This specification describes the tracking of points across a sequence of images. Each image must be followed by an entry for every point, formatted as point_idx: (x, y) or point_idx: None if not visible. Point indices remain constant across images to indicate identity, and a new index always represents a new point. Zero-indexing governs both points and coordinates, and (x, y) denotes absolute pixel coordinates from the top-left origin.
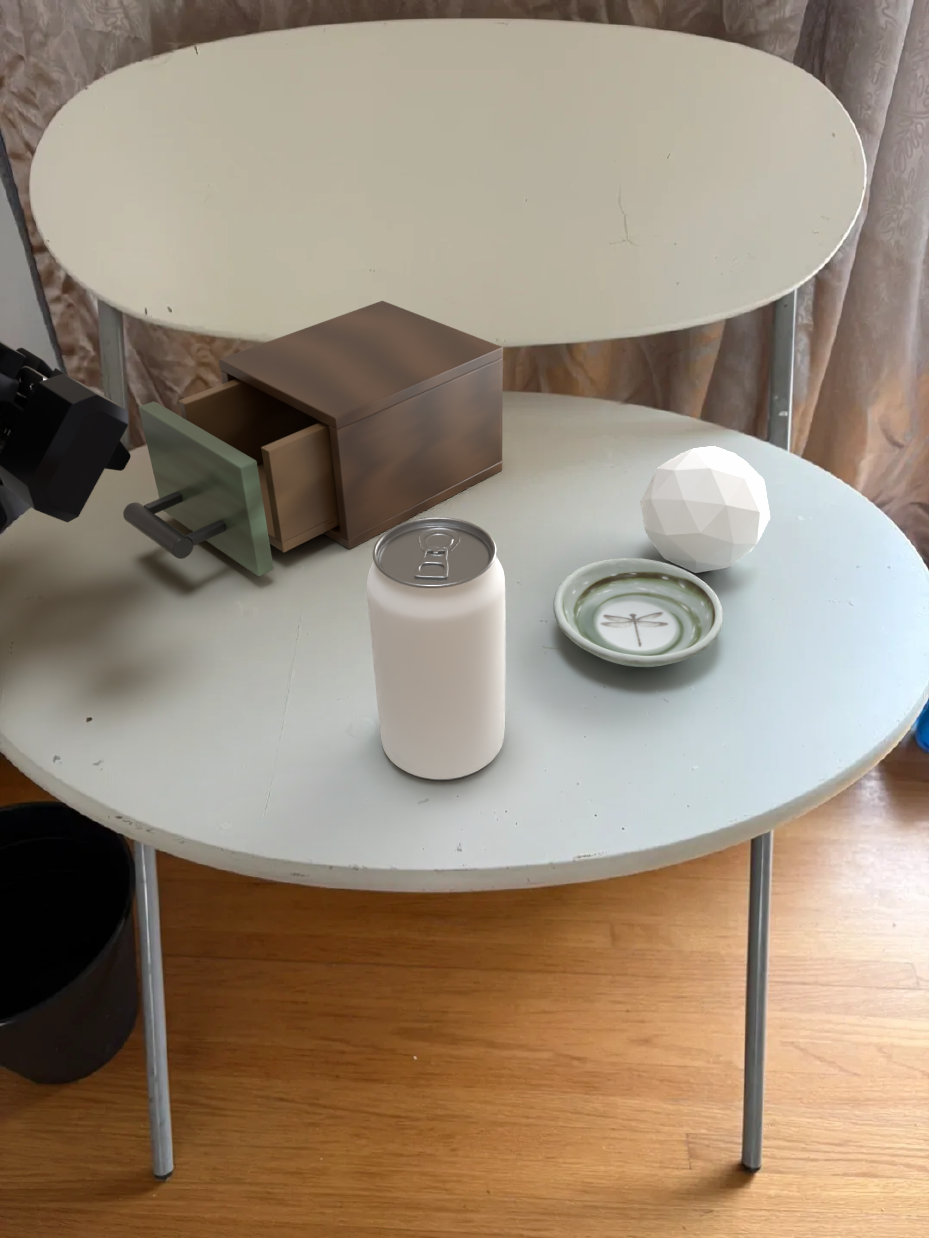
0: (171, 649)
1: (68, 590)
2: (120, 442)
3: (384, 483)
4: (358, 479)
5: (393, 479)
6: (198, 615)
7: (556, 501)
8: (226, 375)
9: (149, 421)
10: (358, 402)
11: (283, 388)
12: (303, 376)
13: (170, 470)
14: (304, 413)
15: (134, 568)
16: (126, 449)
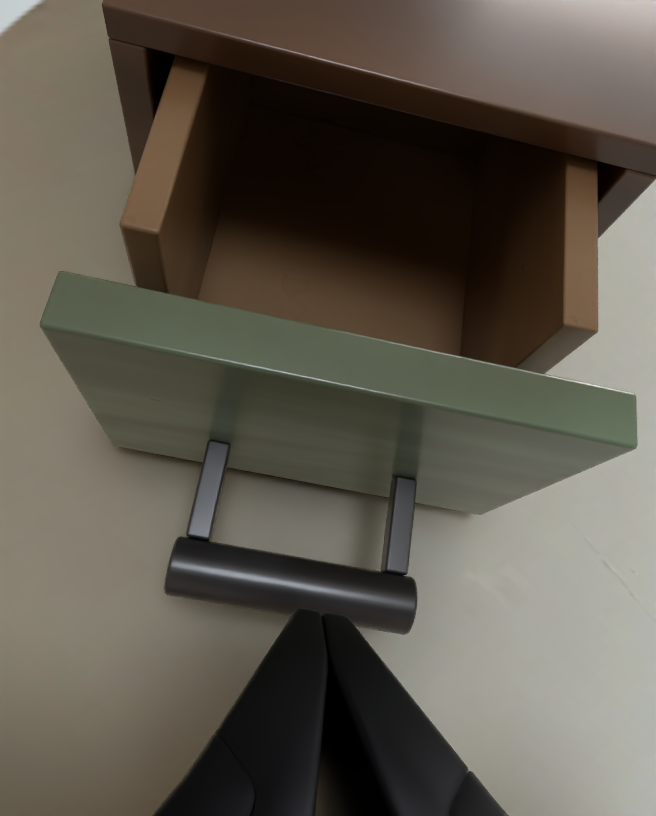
0: (489, 774)
1: (130, 783)
2: (387, 667)
3: None
4: None
5: None
6: (442, 656)
7: None
8: (141, 54)
9: (110, 353)
10: (653, 68)
11: (435, 78)
12: (420, 7)
13: (194, 419)
14: None
15: (199, 621)
16: (360, 633)
